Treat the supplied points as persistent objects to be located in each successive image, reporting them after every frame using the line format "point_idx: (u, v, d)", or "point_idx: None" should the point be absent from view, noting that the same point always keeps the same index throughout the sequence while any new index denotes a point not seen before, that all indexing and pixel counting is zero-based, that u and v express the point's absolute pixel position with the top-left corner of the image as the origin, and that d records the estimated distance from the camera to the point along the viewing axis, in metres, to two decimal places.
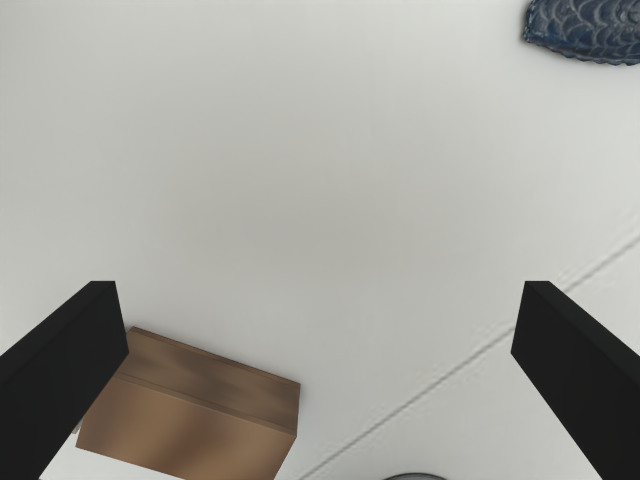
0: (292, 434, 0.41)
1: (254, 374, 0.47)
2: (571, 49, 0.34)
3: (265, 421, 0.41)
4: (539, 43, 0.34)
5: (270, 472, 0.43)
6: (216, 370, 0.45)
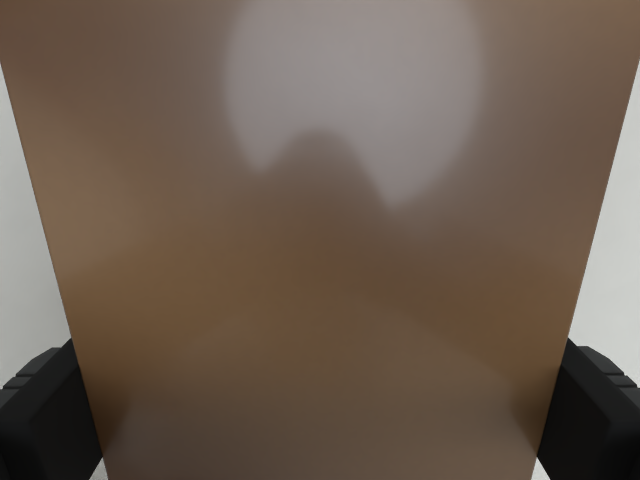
0: None
1: None
2: None
3: None
4: None
5: None
6: None
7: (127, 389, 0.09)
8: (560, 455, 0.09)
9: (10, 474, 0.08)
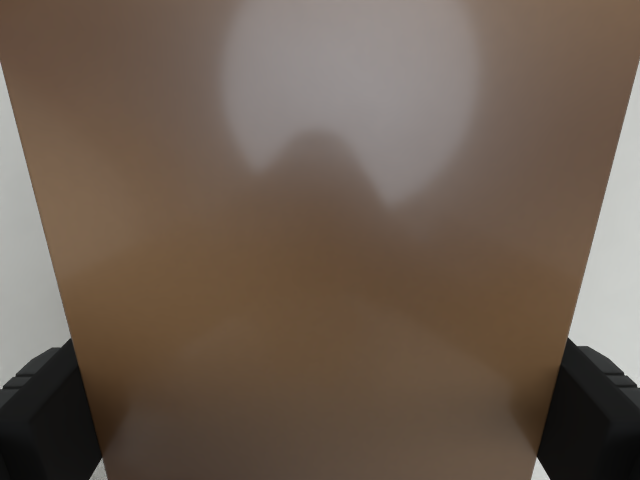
0: None
1: None
2: None
3: None
4: None
5: None
6: None
7: (127, 389, 0.09)
8: (560, 455, 0.09)
9: (10, 474, 0.08)
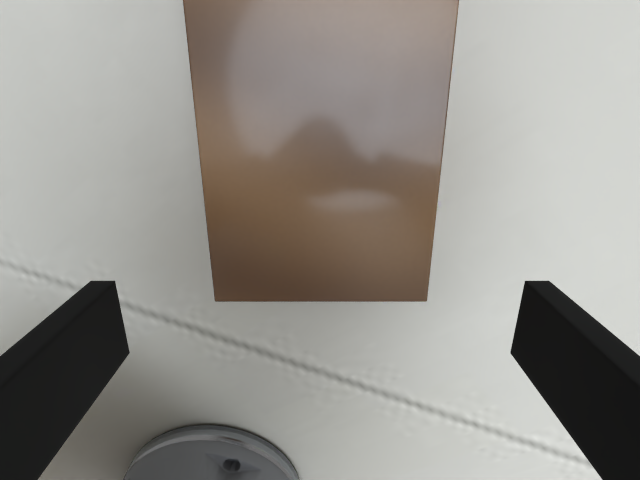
0: None
1: None
2: None
3: None
4: None
5: (309, 289, 0.19)
6: None
7: (227, 226, 0.18)
8: None
9: None
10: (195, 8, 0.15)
